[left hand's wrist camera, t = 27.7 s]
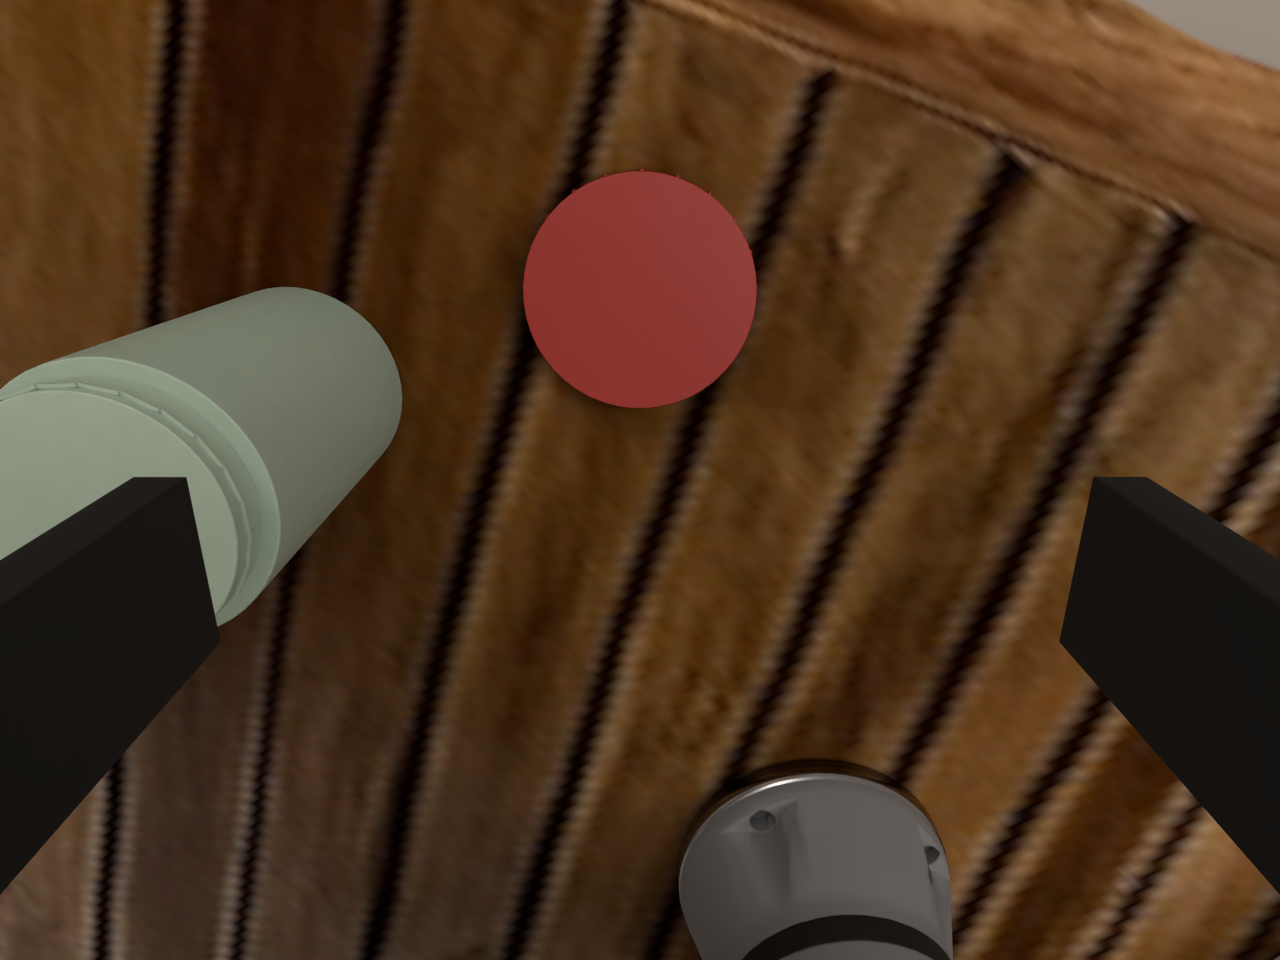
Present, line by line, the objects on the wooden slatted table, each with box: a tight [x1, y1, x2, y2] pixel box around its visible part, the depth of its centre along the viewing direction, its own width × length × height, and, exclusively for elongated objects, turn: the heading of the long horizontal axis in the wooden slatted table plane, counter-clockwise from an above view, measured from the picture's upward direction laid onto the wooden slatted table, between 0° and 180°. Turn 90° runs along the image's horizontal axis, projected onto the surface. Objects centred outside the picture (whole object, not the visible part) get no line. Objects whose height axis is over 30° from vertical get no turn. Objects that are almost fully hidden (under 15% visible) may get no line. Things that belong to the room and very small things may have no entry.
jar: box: [0, 287, 402, 627], centre depth 31 cm, size 9×9×16 cm
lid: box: [522, 169, 757, 408], centre depth 36 cm, size 10×10×2 cm
